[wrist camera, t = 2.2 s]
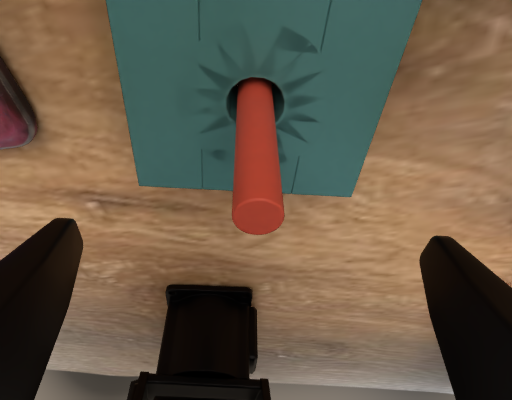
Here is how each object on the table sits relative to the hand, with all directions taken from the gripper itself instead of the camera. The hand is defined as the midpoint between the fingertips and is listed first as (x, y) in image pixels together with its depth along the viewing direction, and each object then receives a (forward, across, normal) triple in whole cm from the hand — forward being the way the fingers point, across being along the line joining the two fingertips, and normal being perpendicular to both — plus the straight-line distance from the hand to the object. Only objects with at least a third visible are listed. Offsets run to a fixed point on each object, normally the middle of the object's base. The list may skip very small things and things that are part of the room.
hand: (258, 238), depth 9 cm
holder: (+10, 0, 0) cm, 10 cm away
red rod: (+10, 0, 0) cm, 10 cm away
